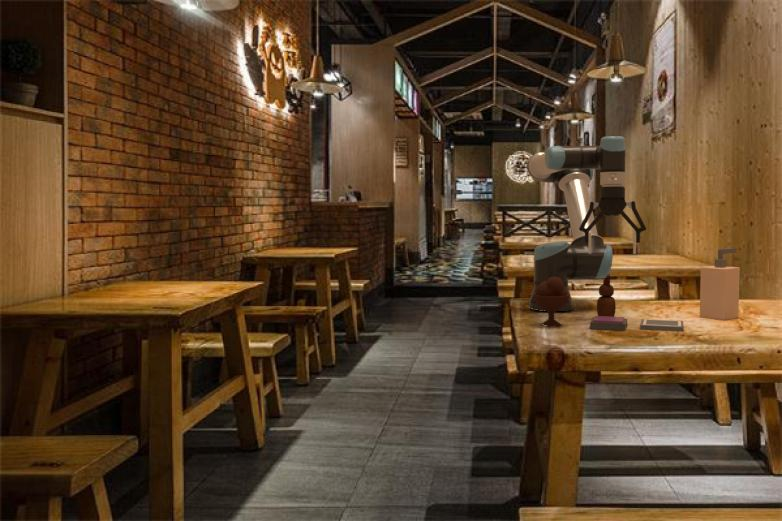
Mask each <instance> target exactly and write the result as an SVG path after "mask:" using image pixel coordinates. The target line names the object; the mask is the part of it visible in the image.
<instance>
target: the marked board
mask: <svg viewBox="0 0 782 521" xmlns="http://www.w3.org/2000/svg"><path fill="white" fill-rule="evenodd" d="M639 329H640V330H648V331H667V332H668V331H669V332H671V331H672V332H684V331H685V330H684V320H675V319H674V320H673V319H653V318H651V319H649V318H648V319H647V318H642V319H641V322H640V326H639Z"/></svg>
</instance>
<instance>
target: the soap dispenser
mask: <svg viewBox="0 0 782 521" xmlns="http://www.w3.org/2000/svg"><path fill="white" fill-rule="evenodd" d="M734 253H735V254H736V253H737V248H736V247H729V248H719V249H717V258H715V259H714V265H710V266H701V267H700V283H699V285H700V287H699V288H700V289H699V291H700V292H699V295H700V296H699V318H702V317H704V318H703V319H710V318H711V320H712V319H713V320H719V321H728V320H733V319H738V318H739V310H740V307H739V306H740V305H739V304H740V303H739V302H740V275H741V274H740V273H741V270H740V269H741V267H737V266H728V265H727V258H724V255H728V254H734Z"/></svg>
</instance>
